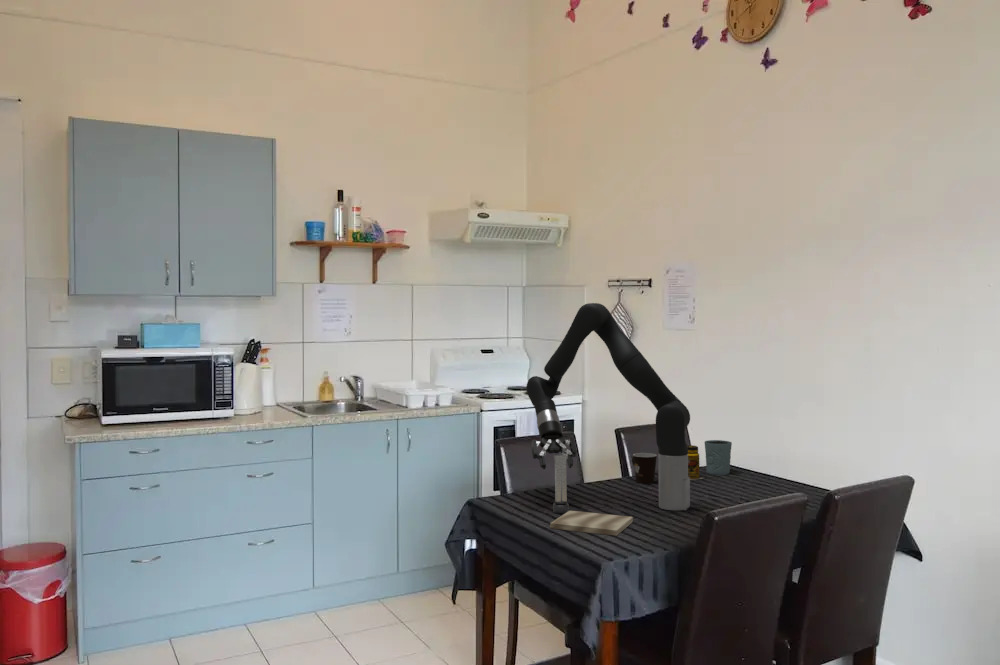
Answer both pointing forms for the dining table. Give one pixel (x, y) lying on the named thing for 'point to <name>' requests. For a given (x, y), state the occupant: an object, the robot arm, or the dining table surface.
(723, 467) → the teal embossed plant pot
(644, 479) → the coffee mug
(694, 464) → the condiment
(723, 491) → the dining table surface
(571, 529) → the birch board
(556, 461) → the grey pillar block
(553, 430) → the robot arm
